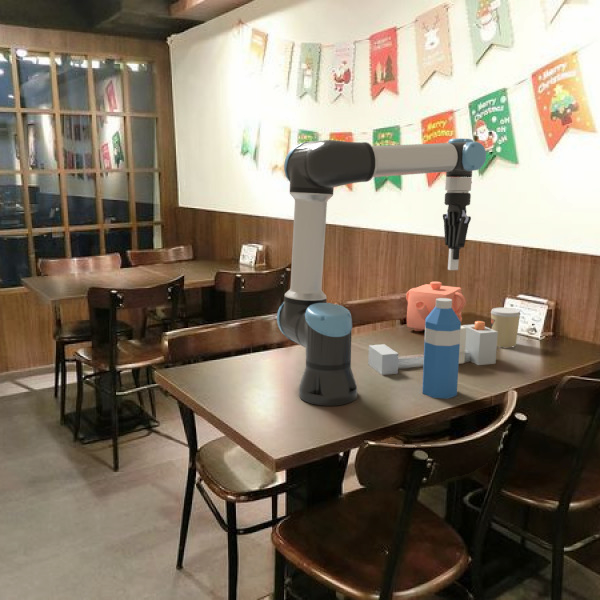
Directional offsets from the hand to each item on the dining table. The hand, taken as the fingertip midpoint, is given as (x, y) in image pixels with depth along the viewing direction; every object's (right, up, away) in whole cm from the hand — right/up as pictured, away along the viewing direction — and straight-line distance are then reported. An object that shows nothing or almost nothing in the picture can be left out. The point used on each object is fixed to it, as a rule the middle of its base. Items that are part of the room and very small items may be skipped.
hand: (452, 269), depth 182 cm
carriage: (-2, -29, -1) cm, 29 cm away
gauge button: (+8, -20, 0) cm, 22 cm away
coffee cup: (+22, -25, +18) cm, 37 cm away
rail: (-8, -29, -3) cm, 30 cm away
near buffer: (-23, -30, -7) cm, 38 cm away
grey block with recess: (+8, -28, +1) cm, 29 cm away
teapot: (+1, -21, +35) cm, 41 cm away
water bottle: (-10, -34, -26) cm, 44 cm away
